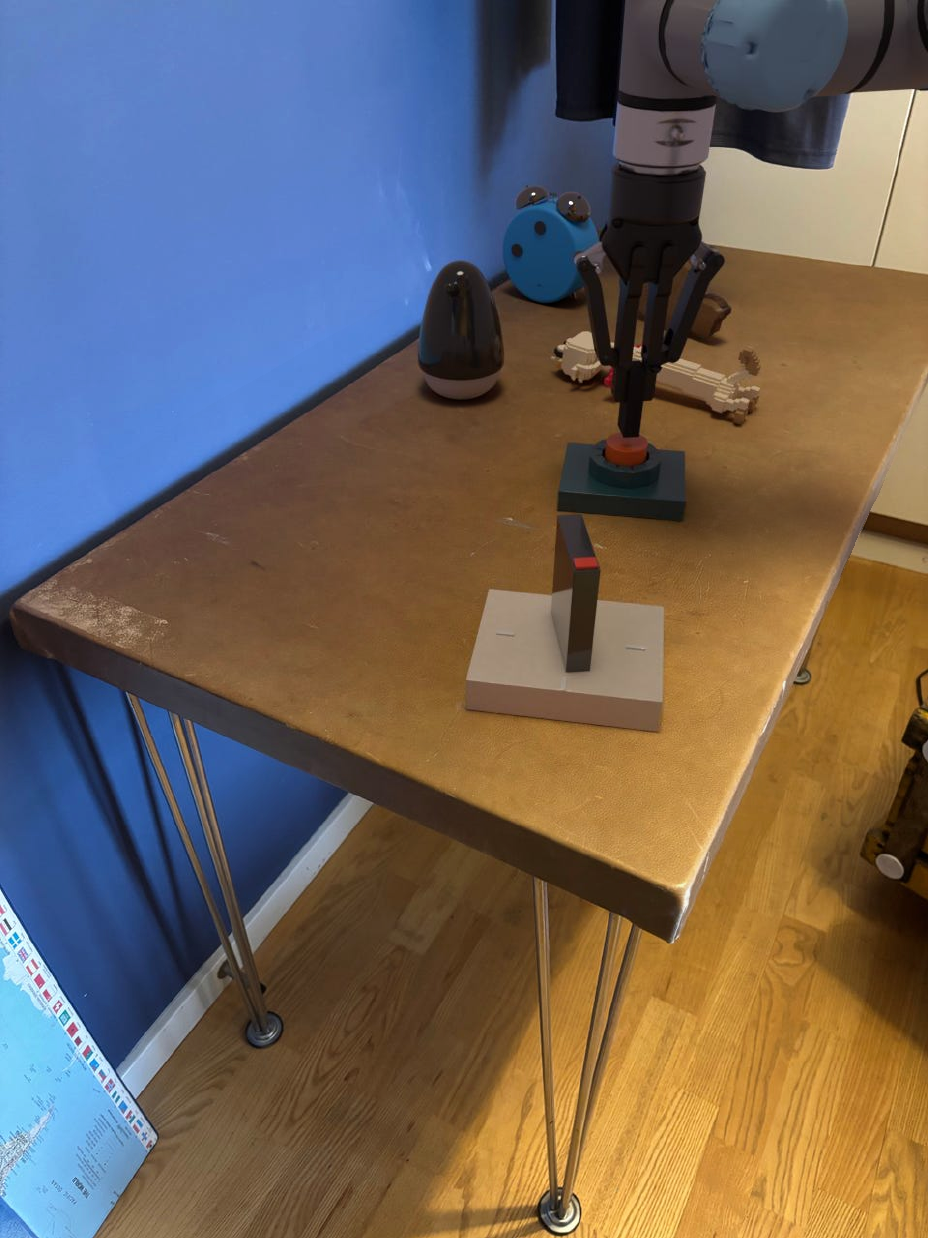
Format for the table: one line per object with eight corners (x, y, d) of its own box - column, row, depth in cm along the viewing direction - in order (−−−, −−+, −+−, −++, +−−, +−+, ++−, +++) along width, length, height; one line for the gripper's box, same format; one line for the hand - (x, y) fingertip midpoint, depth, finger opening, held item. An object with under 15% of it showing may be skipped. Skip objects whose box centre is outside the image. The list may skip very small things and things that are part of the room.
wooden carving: (733, 339, 121) (747, 263, 115) (714, 349, 119) (727, 271, 112) (634, 308, 130) (641, 236, 124) (614, 317, 128) (621, 243, 122)
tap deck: (659, 634, 74) (664, 603, 72) (657, 733, 65) (663, 701, 63) (488, 616, 76) (489, 586, 74) (465, 710, 67) (465, 678, 65)
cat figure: (758, 409, 108) (571, 349, 117) (780, 339, 102) (581, 282, 111) (729, 444, 101) (534, 377, 110) (751, 371, 95) (542, 307, 105)
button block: (681, 469, 94) (687, 434, 92) (682, 521, 87) (688, 485, 84) (566, 460, 96) (568, 426, 94) (557, 510, 89) (559, 474, 86)
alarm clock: (597, 301, 133) (606, 191, 123) (574, 314, 129) (582, 201, 119) (522, 283, 139) (526, 177, 129) (499, 295, 135) (501, 186, 126)
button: (646, 449, 90) (648, 433, 89) (645, 469, 87) (647, 453, 86) (605, 446, 91) (607, 430, 90) (603, 466, 88) (605, 449, 87)
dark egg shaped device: (408, 405, 107) (401, 273, 97) (431, 369, 115) (427, 244, 105) (493, 414, 105) (494, 280, 95) (511, 376, 113) (514, 250, 103)
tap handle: (550, 612, 71) (557, 512, 65) (573, 611, 71) (581, 510, 66) (565, 672, 66) (574, 568, 60) (590, 671, 66) (601, 567, 60)
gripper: (587, 177, 69) (567, 453, 84) (754, 172, 70) (705, 446, 85) (570, 154, 75) (554, 416, 90) (724, 149, 76) (683, 410, 91)
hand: (627, 430), depth 88 cm, fingers closed
